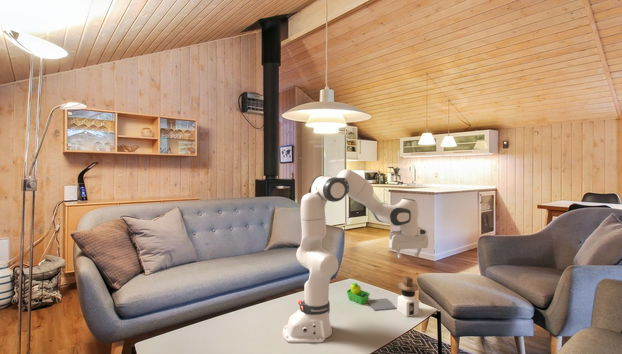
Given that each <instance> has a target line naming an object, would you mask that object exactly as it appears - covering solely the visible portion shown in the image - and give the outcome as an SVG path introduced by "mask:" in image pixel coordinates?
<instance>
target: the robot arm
mask: <svg viewBox="0 0 622 354" xmlns="http://www.w3.org/2000/svg"><path fill="white" fill-rule="evenodd" d="M373 195H374V186H373V185H372V184H371V183H370V182H369V181H368V180H367V179H366V178H365V177H363V176H362V175H360V174H359V173H357V172H355V171H352V170H351V169H348V168H346V169H342V170H341V171H340V172H338V174H337V175H336V176H331V175H318V176H315V177H314V178H313V180H312V181H311V183H310V187H309V190H308V193H306V194H304V195H303V196H302V198H301V200H300V225H301V226H300V227H301V240H300V245H299V246H298V248H297V249H296V253H295V255H296V259H297V261H298V263H299V264H300V265H301V266H302V267H305V268H306V269H308V271H309V276H308V277H309V278H308V280H306V282H304V284H303V286H304V289H303V290H304V291H303V292H304V293H303V294H304V298H303V301H302V299H298V300H297V304H298V306H299V308H298V310H296V311H295V312H293V313H292V314H291V315H290V316H289V318H288V321H287V324H285V325H284V326H283V328H282V336H283V339H284V340H285V341H286V342H288V343H295V344H296V343H323V342H324V341H325V340H326V339H327V338H328V337H330V336H331V335H332V333H333V329H332V325H331V320H330V311H331V308H330V307H331V305H330V300H329V298H330V297H329V290H330V289H329V287H330V282H331V278H332V277H333V276H334V275H336V273H337V271H338V269H339V260H338V258H337V257H336V256H335V255H334V254H333V253H332V252H330V251H329V250H326V249H324V248H323V246H322V244H323V239H324V238H325V237H326V235H327V222H326V221H327V220H326V219H327V218H326V211H325V208H326V205H327V203H328V202H332V203H335V202H336V203H337V202H340V201H342V200H343V199H344V198H345V196H348V197H349V198H351V199H352V200H353V201H356V202H357V203H359V204H362V205H363V206H364V207H365V208H366V209H368V210H369V211H370V212H371V213H372V214H373V216H374V218H375V219H376V221H377V222H379V223H384V224H388V225H392V226H394V227H396V226H397V227H399V230H392V231H391V232H390V233H389V240H388V241H389V242H388V247H389V249H391V250H392V251H395V252H396V254H397V258H398V259H402V257H403V254H402V253H400V251H401V250H413V249H417V250H416V252H414V257H415V258H419V257H420V254H421V252H422V249H426V248H428V246H429V236H428V230H427V229H425V228H422V227H419V223H418V218H419V205H418V202H417V201H416V200H415V199H411V198H405V197H404V198H401V200H400V201H398V202H397V203H396V204H394V205H393V204H388V203H384V202H380V201H379V200H377V199H376V198H375V197H374V196H373Z"/></svg>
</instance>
